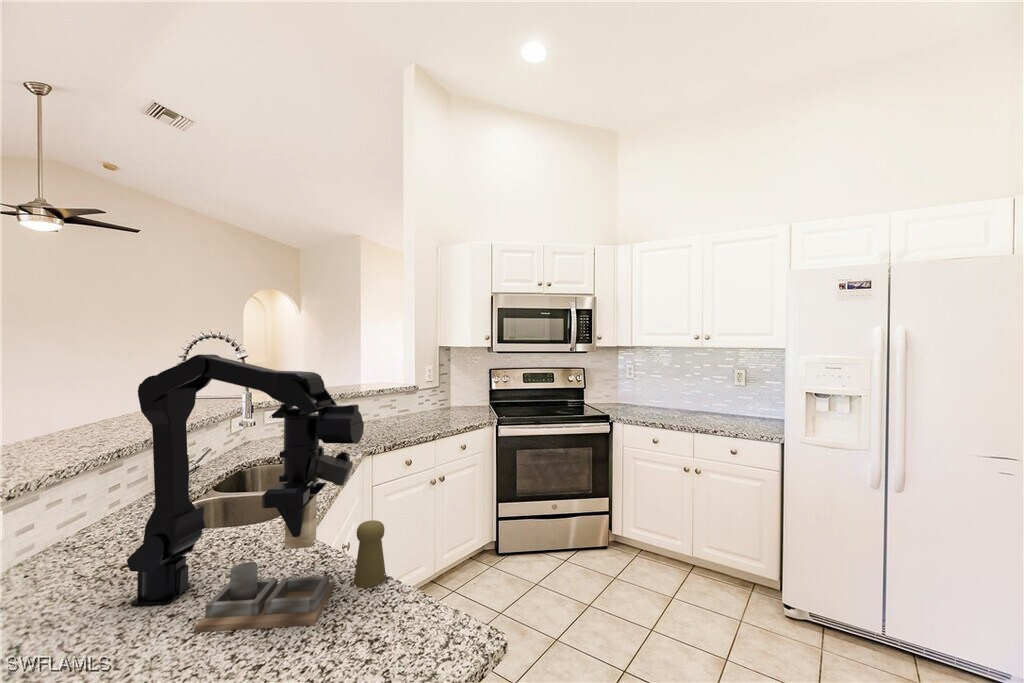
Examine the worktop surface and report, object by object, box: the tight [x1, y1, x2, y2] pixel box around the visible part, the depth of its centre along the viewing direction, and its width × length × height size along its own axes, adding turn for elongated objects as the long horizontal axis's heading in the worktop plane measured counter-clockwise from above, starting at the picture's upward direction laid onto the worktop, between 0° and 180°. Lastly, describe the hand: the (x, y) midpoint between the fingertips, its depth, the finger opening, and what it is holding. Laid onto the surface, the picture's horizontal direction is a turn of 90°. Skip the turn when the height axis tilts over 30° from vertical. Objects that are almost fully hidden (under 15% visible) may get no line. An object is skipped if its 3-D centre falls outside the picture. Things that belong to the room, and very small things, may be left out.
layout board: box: [194, 561, 336, 633], centre depth 78 cm, size 18×12×7 cm, turn 97°
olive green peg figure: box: [353, 520, 387, 589], centre depth 88 cm, size 6×6×11 cm
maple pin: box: [284, 494, 318, 550], centre depth 80 cm, size 4×4×8 cm
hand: (300, 531), depth 80 cm, fingers closed on maple pin, 4 cm apart
